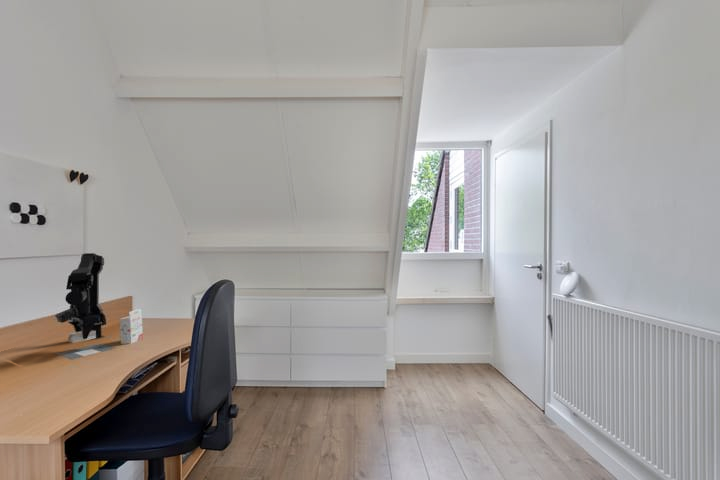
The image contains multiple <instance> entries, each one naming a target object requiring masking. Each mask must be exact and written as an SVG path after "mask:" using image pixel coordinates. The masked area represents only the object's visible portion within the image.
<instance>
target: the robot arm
mask: <svg viewBox="0 0 720 480" xmlns="http://www.w3.org/2000/svg"><path fill="white" fill-rule="evenodd" d="M104 265H105V258H104V257H103V256H102V255H99V254H97V253H94V252H90V253H88V252H87V253H82V254H81V256H80V262H79V264H78V267H77V268H76V269H73V270H72V271H71V272H70V275H68V278H67V282H66V283H67V284H66V290H70V291H69V292H67V294H66V295H65V302H66V303H67V304H68V305H69V308H68V309H65V310H63V311H61V312H59V313H56V314H55V318H56V320H57V322H58V323H61V324H63V323H65V322H67V324H70V325H72V327H73V329H74V331H75V332H74V333H76V332H81V331H82V335H83V339H87V337H88V335H89V333H90V331H91V330H94V331H96V338H95V339H90V340H89V341H92V340H97V339H101V338H105V336H104V335H103V334H102V333H103V331H102V328H103V327H102V326H106V325H107V319H106V318H107V317H106V315H105V313H104V312H103V311H104V310H103V308H102V307H101V305H100V303H99V301H100V299H99V298H100V297H99V294H100V293H99V291H100V289H99V285H100V284H99V282H100V281H99V280H100V279H99V277H100V273H102V271H103V269H104Z"/></svg>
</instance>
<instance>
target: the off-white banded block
mask: <svg viewBox="0 0 720 480" xmlns="http://www.w3.org/2000/svg"><path fill="white" fill-rule="evenodd" d="M95 338H96V331H94V330H91V331H90V333H89V335H88V337H87V339H83V335H82V331H81V332H71V333H68V334H67V341H68V343H72V344H76V343H80V342H84V341H91V340H90V339H93V340H96V339H95Z"/></svg>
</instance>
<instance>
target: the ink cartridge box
mask: <svg viewBox="0 0 720 480" xmlns="http://www.w3.org/2000/svg"><path fill="white" fill-rule="evenodd" d="M128 314H129V316H125V317H121V318H119V326H120V327H119V329H120V330H119V331H120V345H122V344H123V345H125V344H127V345H128V344H130V345H131V344H133V343H136V342H139V340H140V341H142V340H144V338H143V337H144V334H143V314H142V309H141V308H137V309H134V310H131V311H129V312H128Z"/></svg>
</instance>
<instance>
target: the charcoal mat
mask: <svg viewBox="0 0 720 480" xmlns="http://www.w3.org/2000/svg"><path fill="white" fill-rule="evenodd" d="M115 349H117V347H114V346H111V345H107V344H103V343H98V344H93V345H89V346H88V345H87V346H85V347H81V348H76V349H72V350H71V349H70V350H67V351H63V352H59V353H56V355H58V356H61V357H64V358H67V359H69V360H75V359H80V358H84V357H87V356H91V355H96V354H100V353H103V352H108V351H112V350H115Z"/></svg>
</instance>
